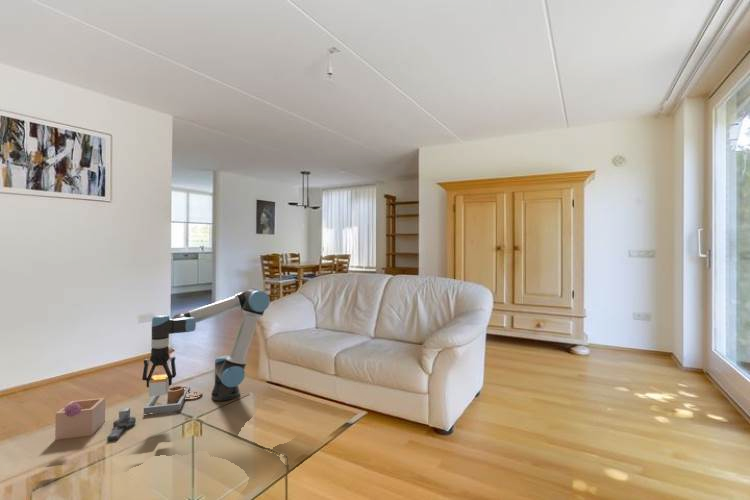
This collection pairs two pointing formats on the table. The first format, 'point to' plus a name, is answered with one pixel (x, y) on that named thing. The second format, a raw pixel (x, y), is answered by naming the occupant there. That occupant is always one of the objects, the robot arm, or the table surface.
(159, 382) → the orange-topped grey block
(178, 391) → the brown long-handled pot
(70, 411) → the artificial flower
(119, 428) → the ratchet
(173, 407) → the frame
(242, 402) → the table surface
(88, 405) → the open pinkish beige box
